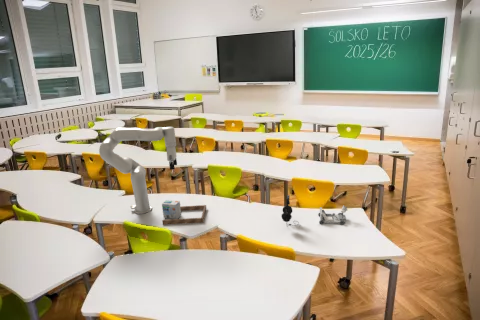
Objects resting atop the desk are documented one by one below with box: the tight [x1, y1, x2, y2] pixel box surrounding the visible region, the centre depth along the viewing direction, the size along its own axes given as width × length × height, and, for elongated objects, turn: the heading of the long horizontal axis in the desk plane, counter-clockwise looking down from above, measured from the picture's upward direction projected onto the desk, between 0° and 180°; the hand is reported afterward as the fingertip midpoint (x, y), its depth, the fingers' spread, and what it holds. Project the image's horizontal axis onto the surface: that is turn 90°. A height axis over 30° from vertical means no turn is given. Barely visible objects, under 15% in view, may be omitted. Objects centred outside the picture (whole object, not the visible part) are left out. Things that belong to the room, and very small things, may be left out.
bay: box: [161, 204, 207, 225], centre depth 233 cm, size 28×21×3 cm
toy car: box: [317, 205, 349, 226], centre depth 214 cm, size 18×10×12 cm
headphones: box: [281, 194, 301, 228], centre depth 209 cm, size 15×11×20 cm
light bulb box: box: [161, 199, 182, 219], centre depth 233 cm, size 11×7×11 cm, turn 74°
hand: (173, 167), depth 243 cm, fingers open, 9 cm apart
